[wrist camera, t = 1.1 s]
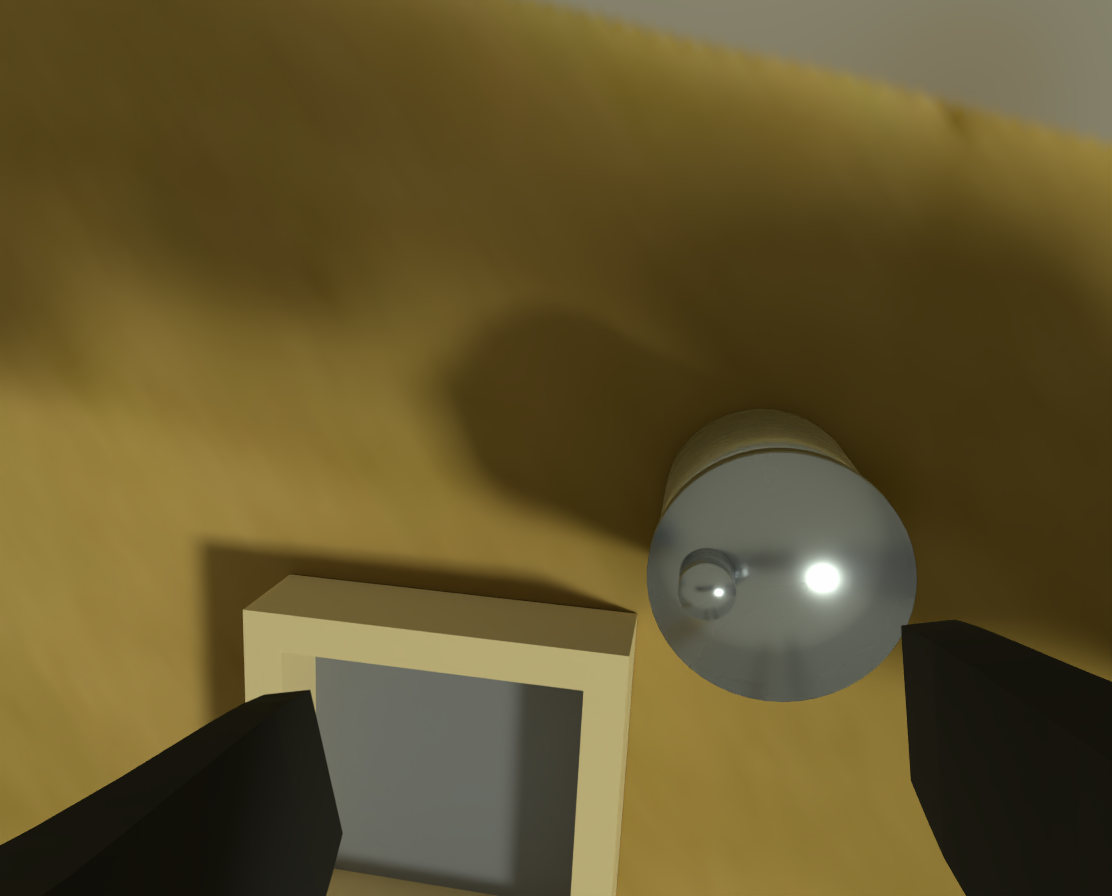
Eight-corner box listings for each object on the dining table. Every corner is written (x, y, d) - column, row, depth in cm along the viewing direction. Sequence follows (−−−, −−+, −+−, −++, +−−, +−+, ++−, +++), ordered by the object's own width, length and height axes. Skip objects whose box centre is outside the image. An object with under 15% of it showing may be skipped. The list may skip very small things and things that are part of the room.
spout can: (874, 412, 20) (951, 479, 14) (848, 604, 21) (909, 746, 15) (668, 397, 21) (653, 453, 15) (653, 583, 22) (634, 710, 16)
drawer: (637, 613, 22) (620, 706, 18) (601, 1089, 25) (578, 1273, 21) (188, 562, 24) (66, 634, 19) (207, 1012, 27) (106, 1165, 23)
